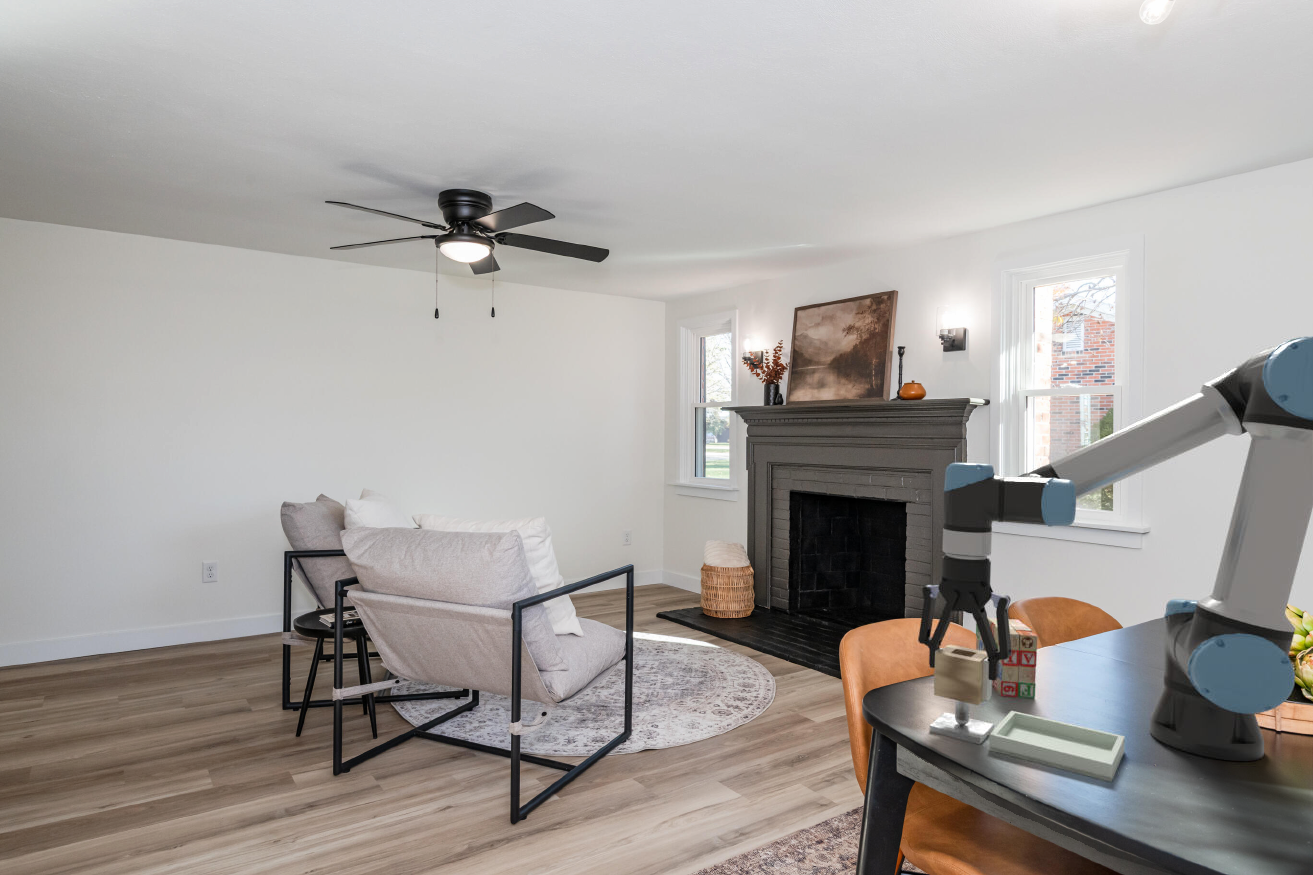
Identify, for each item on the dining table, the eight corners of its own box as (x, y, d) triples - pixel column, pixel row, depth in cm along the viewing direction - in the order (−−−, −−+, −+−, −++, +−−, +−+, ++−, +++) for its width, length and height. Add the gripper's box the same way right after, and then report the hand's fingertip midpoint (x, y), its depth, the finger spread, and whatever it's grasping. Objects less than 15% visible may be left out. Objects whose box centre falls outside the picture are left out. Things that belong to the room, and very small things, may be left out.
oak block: (990, 694, 128) (991, 652, 128) (978, 705, 122) (979, 661, 122) (947, 684, 132) (948, 644, 132) (934, 695, 127) (935, 652, 127)
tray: (1124, 752, 120) (1124, 736, 120) (1111, 781, 109) (1111, 764, 109) (1010, 725, 130) (1011, 710, 130) (989, 750, 120) (989, 734, 120)
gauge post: (993, 729, 128) (995, 657, 128) (980, 744, 122) (982, 668, 122) (944, 717, 133) (946, 648, 133) (929, 731, 127) (931, 658, 126)
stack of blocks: (974, 663, 166) (976, 607, 166) (1005, 666, 165) (1007, 609, 165) (1000, 696, 145) (1002, 632, 145) (1036, 699, 144) (1037, 634, 144)
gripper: (1036, 560, 124) (1032, 701, 124) (914, 546, 136) (911, 674, 136) (1026, 566, 118) (1021, 714, 118) (899, 550, 130) (895, 685, 130)
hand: (962, 692), depth 127 cm, fingers closed on oak block, 7 cm apart
